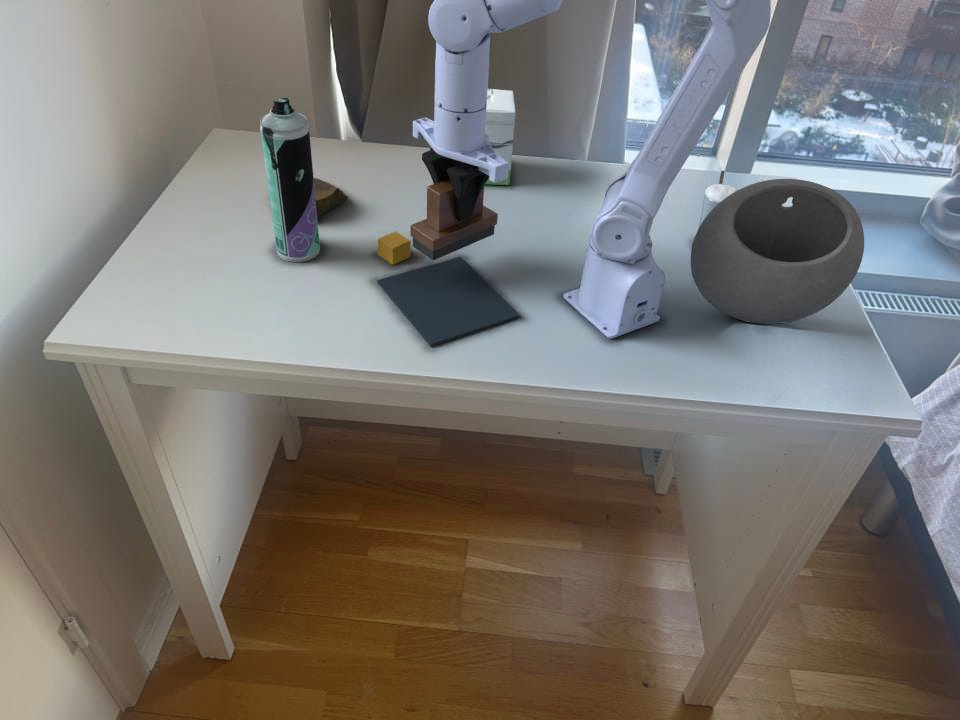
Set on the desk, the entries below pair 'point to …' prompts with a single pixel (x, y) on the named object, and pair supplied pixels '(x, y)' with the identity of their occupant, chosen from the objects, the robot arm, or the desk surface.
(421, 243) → the brush
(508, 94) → the ink box
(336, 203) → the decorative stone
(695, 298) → the desk surface
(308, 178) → the spray can
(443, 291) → the mat
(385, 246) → the mustard wooden cube
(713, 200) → the milkshake
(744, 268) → the planter
